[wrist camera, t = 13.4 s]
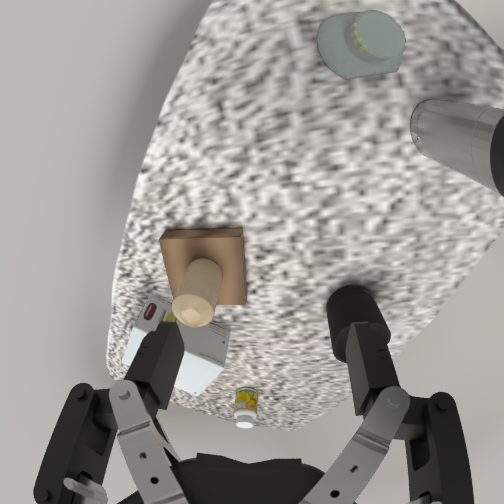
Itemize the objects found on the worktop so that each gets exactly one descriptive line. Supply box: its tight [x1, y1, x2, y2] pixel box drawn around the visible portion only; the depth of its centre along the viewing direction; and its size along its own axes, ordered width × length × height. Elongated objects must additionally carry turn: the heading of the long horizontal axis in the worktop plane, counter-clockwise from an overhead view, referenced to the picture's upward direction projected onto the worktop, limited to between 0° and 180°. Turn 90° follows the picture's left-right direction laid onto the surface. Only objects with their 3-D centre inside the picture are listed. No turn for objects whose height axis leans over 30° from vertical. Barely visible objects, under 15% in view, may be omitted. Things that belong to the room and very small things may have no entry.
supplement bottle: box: [234, 388, 258, 428], centre depth 58 cm, size 5×5×10 cm
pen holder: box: [327, 286, 391, 363], centre depth 42 cm, size 9×9×10 cm
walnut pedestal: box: [159, 228, 247, 305], centre depth 43 cm, size 12×12×3 cm
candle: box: [172, 258, 222, 328], centre depth 37 cm, size 6×6×10 cm
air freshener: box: [317, 10, 406, 80], centre depth 22 cm, size 11×8×10 cm
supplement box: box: [121, 294, 230, 396], centre depth 49 cm, size 17×13×9 cm
